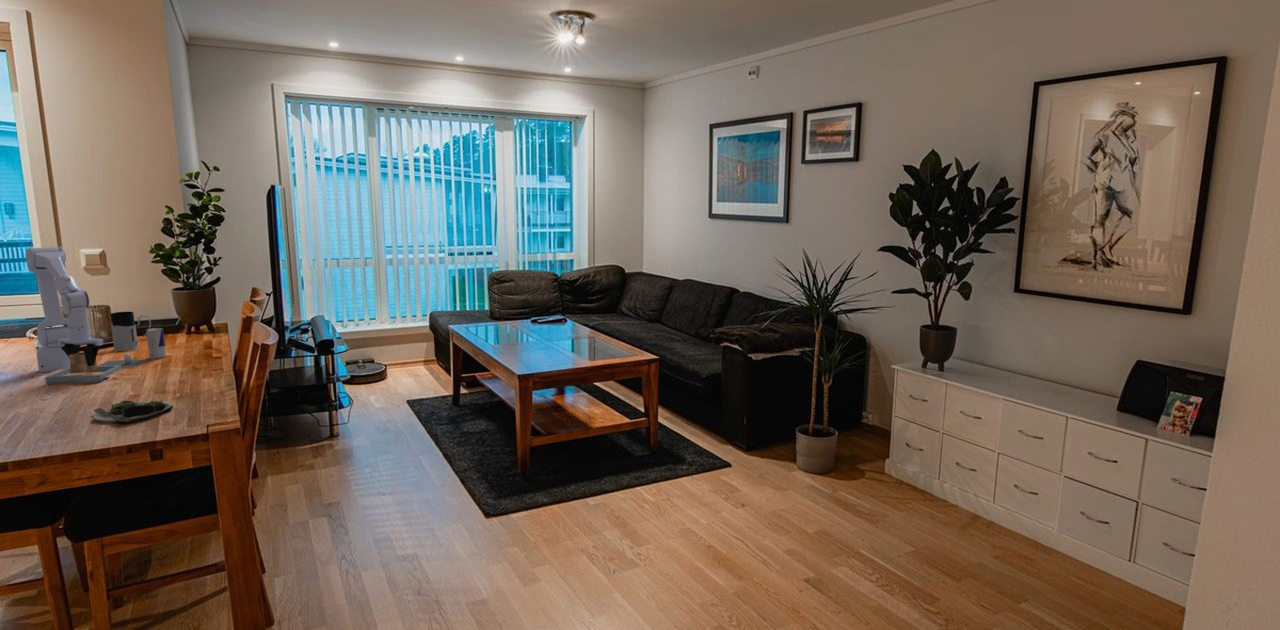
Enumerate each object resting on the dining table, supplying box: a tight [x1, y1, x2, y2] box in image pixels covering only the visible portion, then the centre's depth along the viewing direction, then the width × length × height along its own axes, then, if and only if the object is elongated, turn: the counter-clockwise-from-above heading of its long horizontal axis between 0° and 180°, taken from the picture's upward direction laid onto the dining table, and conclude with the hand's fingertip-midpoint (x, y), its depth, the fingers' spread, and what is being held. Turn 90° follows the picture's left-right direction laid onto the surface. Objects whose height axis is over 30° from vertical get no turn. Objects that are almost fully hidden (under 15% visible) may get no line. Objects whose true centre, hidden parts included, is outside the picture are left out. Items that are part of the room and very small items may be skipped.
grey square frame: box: [44, 365, 123, 385], centre depth 238 cm, size 16×14×2 cm
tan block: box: [69, 351, 98, 374], centre depth 238 cm, size 5×7×6 cm
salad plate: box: [93, 400, 174, 424], centre depth 200 cm, size 19×18×5 cm
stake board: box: [97, 353, 152, 370], centre depth 253 cm, size 14×14×4 cm
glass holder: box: [110, 311, 152, 352], centre depth 281 cm, size 9×14×15 cm, turn 104°
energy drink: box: [145, 327, 167, 360], centre depth 264 cm, size 5×5×12 cm
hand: (83, 365), depth 237 cm, fingers closed on tan block, 5 cm apart
